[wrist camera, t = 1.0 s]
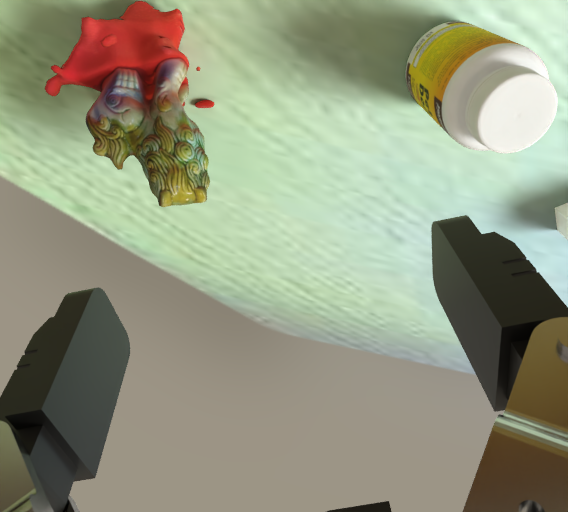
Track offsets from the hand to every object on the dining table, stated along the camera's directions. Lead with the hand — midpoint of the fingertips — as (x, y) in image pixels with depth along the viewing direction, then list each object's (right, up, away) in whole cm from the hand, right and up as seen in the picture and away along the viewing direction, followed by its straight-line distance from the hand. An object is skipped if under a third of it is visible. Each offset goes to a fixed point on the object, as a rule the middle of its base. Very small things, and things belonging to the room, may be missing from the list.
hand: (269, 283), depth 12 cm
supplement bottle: (+11, +13, +20) cm, 27 cm away
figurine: (-8, +13, +19) cm, 24 cm away
